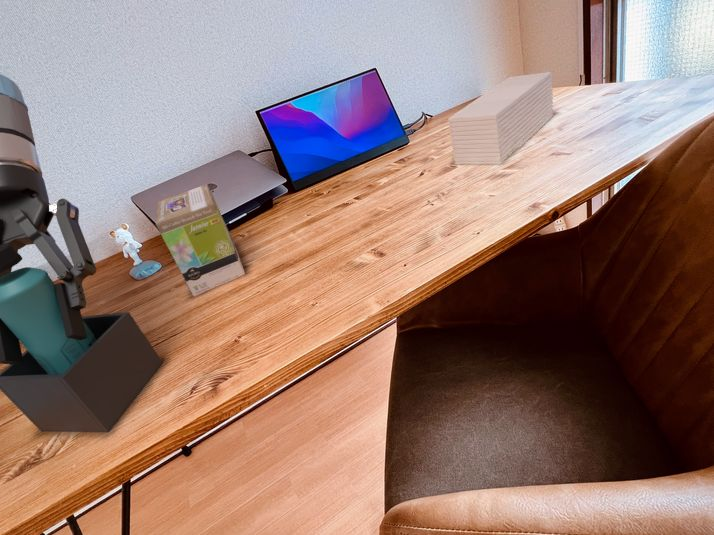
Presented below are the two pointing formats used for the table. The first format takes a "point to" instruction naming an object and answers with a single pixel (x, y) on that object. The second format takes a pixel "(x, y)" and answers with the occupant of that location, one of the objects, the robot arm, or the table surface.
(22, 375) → the waste bin
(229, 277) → the tea box
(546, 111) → the stack of papers
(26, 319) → the beverage bottle
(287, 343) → the table surface
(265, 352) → the table surface
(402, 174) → the table surface
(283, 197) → the table surface
